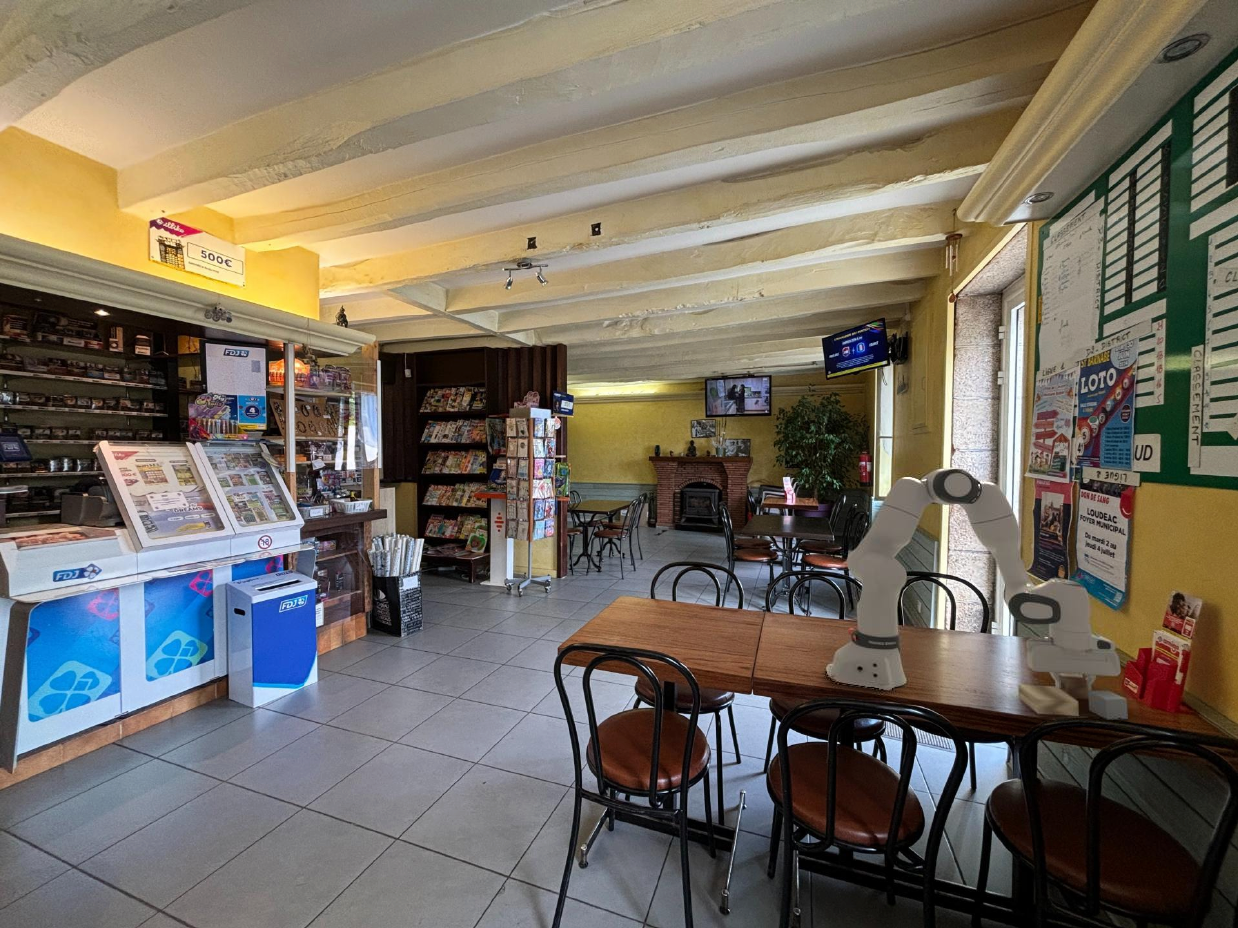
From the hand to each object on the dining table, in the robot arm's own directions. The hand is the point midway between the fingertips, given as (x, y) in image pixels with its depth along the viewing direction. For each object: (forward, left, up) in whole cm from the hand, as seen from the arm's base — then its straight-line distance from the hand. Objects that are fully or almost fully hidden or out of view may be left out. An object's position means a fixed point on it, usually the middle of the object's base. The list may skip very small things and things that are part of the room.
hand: (1073, 688), depth 141 cm
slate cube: (+2, -11, -2) cm, 11 cm away
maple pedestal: (-10, -9, -2) cm, 14 cm away
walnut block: (0, 0, -2) cm, 2 cm away
